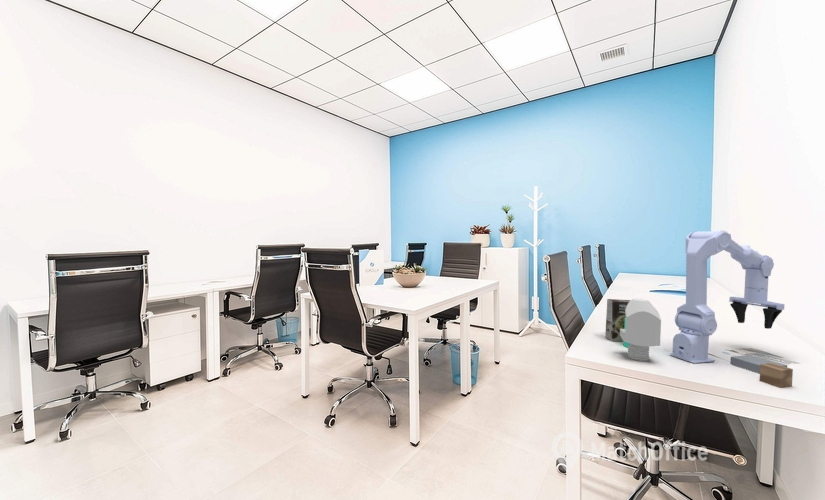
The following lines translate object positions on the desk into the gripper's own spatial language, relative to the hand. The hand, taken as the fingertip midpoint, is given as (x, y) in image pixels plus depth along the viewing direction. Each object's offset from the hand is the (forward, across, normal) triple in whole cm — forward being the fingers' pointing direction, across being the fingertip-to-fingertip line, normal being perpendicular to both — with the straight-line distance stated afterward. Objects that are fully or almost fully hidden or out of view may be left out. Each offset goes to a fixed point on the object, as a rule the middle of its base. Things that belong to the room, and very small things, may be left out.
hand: (754, 325), depth 116 cm
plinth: (+10, -11, +17) cm, 23 cm away
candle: (+10, +14, +38) cm, 42 cm away
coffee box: (+10, +22, +36) cm, 43 cm away
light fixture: (+10, +4, +47) cm, 48 cm away
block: (+10, -20, +26) cm, 34 cm away
